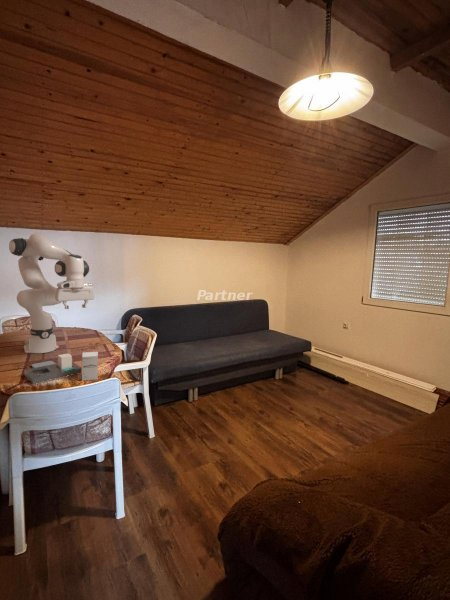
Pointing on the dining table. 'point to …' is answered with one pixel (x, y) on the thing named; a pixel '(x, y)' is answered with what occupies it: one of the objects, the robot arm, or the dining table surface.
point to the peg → (64, 361)
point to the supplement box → (89, 366)
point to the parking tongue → (42, 364)
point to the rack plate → (50, 372)
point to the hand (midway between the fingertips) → (75, 308)
